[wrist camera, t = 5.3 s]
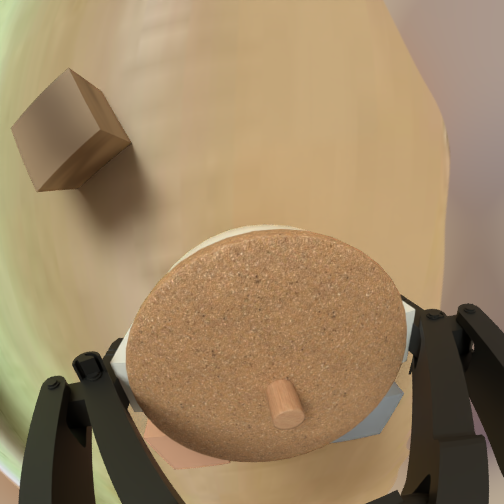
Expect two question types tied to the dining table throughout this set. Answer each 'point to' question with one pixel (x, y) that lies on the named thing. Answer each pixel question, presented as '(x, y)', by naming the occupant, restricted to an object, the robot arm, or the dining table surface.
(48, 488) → the robot arm
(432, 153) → the dining table surface
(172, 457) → the cube terracotta
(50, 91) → the cube walnut
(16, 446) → the dining table surface
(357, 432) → the cube slate
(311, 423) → the lidded jar
